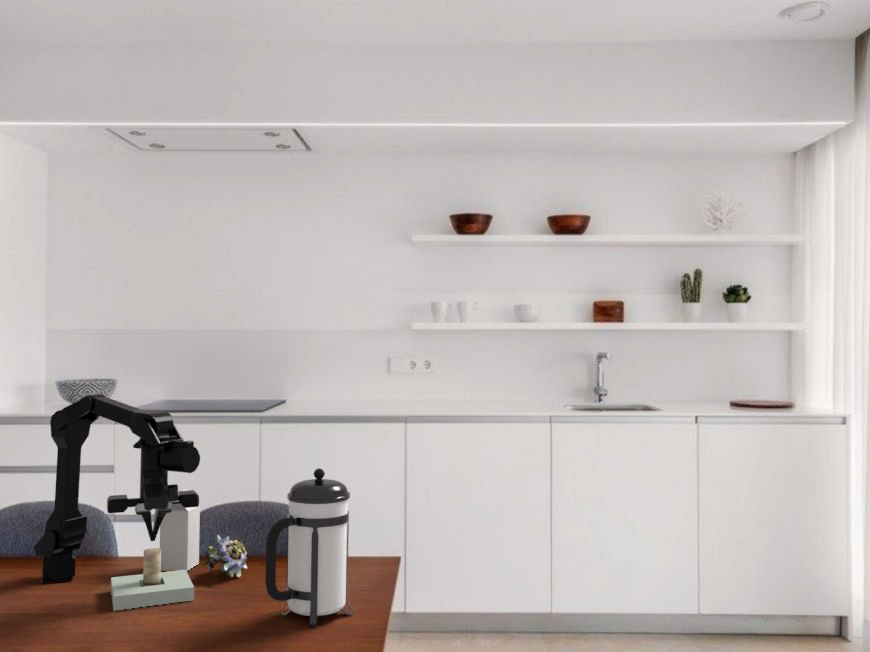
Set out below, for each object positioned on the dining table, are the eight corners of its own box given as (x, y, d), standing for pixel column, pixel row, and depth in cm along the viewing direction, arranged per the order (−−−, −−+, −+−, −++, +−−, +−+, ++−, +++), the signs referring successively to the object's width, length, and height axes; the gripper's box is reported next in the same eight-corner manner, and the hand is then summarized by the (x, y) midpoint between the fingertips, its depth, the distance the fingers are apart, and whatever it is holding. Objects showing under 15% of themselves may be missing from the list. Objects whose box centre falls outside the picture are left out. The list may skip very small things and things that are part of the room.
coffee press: (284, 601, 166) (286, 462, 167) (357, 603, 165) (359, 463, 166) (263, 631, 149) (266, 475, 149) (345, 633, 148) (348, 477, 149)
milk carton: (199, 565, 192) (200, 488, 193) (187, 573, 185) (188, 494, 186) (171, 564, 193) (173, 488, 193) (158, 572, 186) (160, 493, 186)
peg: (143, 599, 166) (144, 553, 166) (141, 594, 169) (142, 548, 170) (161, 597, 167) (162, 551, 168) (159, 592, 171) (160, 547, 171)
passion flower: (236, 600, 182) (233, 568, 175) (193, 589, 183) (189, 557, 177) (256, 563, 191) (253, 531, 184) (215, 553, 193) (211, 520, 186)
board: (113, 611, 159) (113, 596, 159) (110, 591, 171) (111, 577, 171) (193, 601, 165) (194, 587, 165) (185, 582, 178) (185, 569, 178)
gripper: (109, 478, 158) (107, 554, 157) (203, 472, 166) (201, 545, 165) (107, 469, 168) (106, 541, 168) (196, 465, 176) (194, 533, 175)
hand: (152, 540), depth 169 cm, fingers closed
